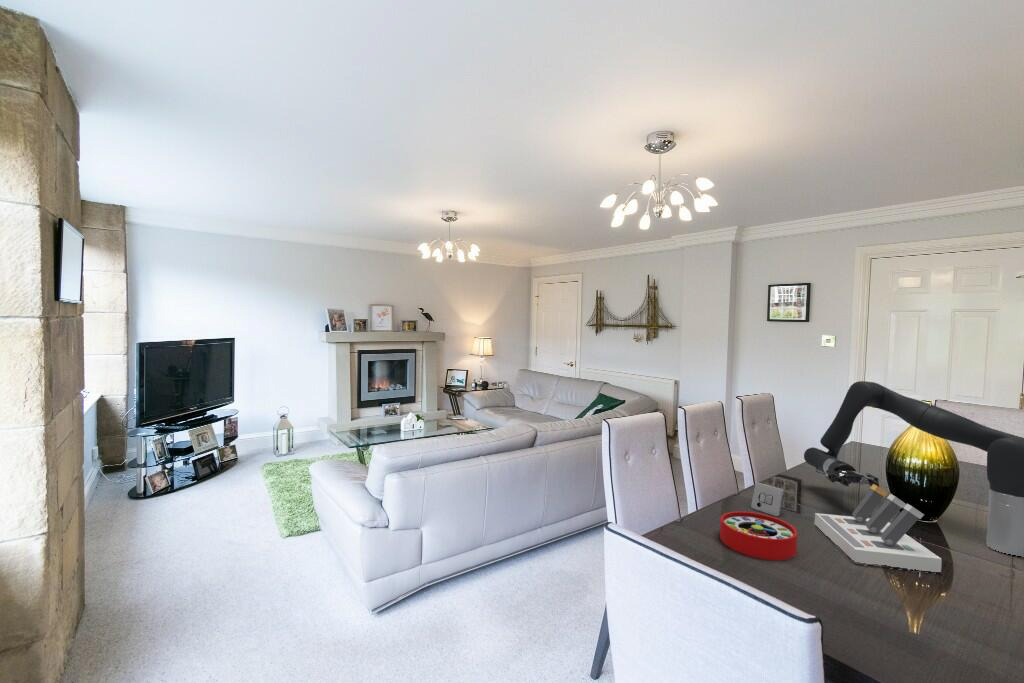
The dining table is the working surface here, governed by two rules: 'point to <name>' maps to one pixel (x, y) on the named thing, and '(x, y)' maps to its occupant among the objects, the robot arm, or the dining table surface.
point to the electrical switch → (767, 499)
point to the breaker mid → (884, 514)
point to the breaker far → (901, 525)
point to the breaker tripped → (869, 503)
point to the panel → (875, 544)
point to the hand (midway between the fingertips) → (862, 484)
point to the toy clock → (758, 535)
